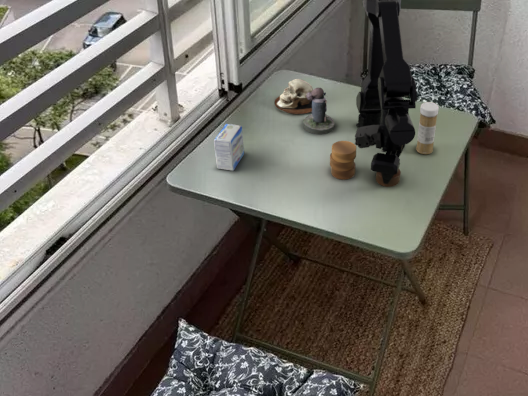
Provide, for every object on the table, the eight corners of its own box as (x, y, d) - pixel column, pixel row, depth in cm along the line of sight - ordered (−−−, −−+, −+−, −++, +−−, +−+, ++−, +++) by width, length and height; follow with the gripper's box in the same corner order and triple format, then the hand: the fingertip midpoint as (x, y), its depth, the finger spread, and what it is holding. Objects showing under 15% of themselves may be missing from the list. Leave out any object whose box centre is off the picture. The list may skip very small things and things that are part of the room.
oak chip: (347, 146, 170) (347, 138, 169) (360, 158, 166) (361, 149, 165) (326, 153, 167) (327, 144, 166) (339, 165, 163) (340, 156, 162)
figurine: (321, 137, 182) (321, 97, 175) (296, 126, 186) (296, 87, 179) (340, 125, 188) (341, 86, 180) (316, 114, 191) (317, 76, 184)
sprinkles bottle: (432, 145, 182) (437, 101, 173) (433, 155, 178) (439, 110, 170) (414, 145, 181) (419, 100, 173) (416, 155, 178) (421, 110, 170)
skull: (282, 117, 187) (273, 80, 188) (276, 124, 197) (267, 90, 197) (324, 108, 191) (315, 73, 191) (315, 116, 201) (306, 83, 201)
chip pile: (346, 162, 173) (347, 146, 170) (359, 175, 169) (360, 158, 166) (325, 170, 170) (325, 153, 167) (338, 182, 166) (338, 165, 163)
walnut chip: (390, 170, 172) (391, 161, 170) (404, 182, 168) (405, 174, 166) (370, 177, 169) (371, 168, 167) (384, 189, 165) (385, 181, 163)
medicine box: (233, 171, 168) (231, 142, 163) (216, 168, 168) (213, 139, 163) (244, 154, 174) (242, 125, 169) (227, 151, 175) (225, 122, 169)
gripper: (366, 97, 167) (363, 151, 176) (350, 137, 152) (347, 193, 161) (411, 104, 165) (406, 157, 175) (399, 144, 151) (394, 200, 160)
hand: (388, 176), depth 168 cm, fingers closed on walnut chip, 6 cm apart
